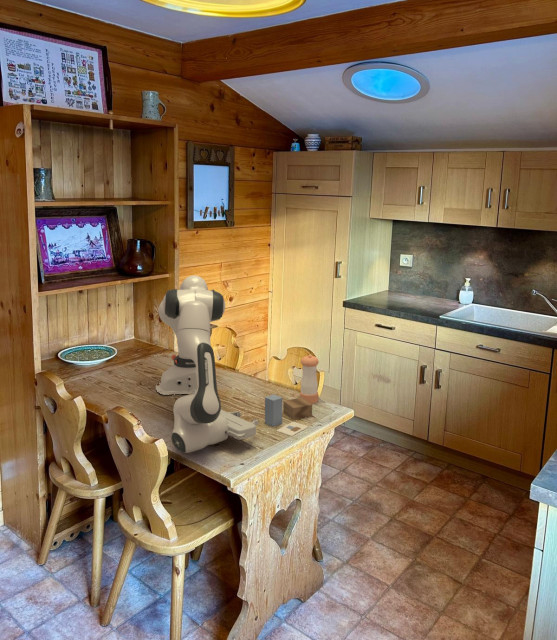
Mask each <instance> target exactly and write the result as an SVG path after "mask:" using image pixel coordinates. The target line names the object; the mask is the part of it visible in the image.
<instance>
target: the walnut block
mask: <svg viewBox="0 0 557 640" xmlns="http://www.w3.org/2000/svg"><path fill="white" fill-rule="evenodd" d="M282 414H284V415H286V416H287V417H288V418H289V419H291V420H292V421H296V420H302V419H306V418H305V417H307V418H310V417H309V416H313V404H311V403H309V402H308V401H306V400H305V399H303V398H300V397H297V398H290V399H286V400H282ZM301 418H302V419H301Z"/></svg>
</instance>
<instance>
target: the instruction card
mask: <svg viewBox="0 0 557 640" xmlns="http://www.w3.org/2000/svg"><path fill="white" fill-rule="evenodd" d="M306 428H307V429H308V428H310V426H309V425H305V424H302V423H300V422H298V421H297V422H296V421H295V420H292V422H290V423H287V424H285V425H284V426H282V427H280V428H278V429H276V432H278V433H280V434H284V435H286V436H290V437H294V436H296V435H297V434H299V433H301V432H303V431H305V430H306ZM304 429H305V430H304ZM302 430H303V431H302ZM295 434H296V435H295Z"/></svg>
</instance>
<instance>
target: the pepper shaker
mask: <svg viewBox="0 0 557 640" xmlns="http://www.w3.org/2000/svg"><path fill="white" fill-rule="evenodd" d="M300 363H301V365H302V374H301V375H302V376H301V381H300V391H299V398H303V399H305V400H306V401H308V402H309V403H311V404H312V405H313V403H314V404H316V402H317V401H318V402H319V392H318V385H319V384H318V378H317V366H318V365H319V359H318V358H317V357H316V356H314V355H312V354H308V355H305V356H303V357H302V358H301V360H300ZM318 402H317V403H318Z"/></svg>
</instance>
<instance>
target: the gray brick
mask: <svg viewBox="0 0 557 640" xmlns="http://www.w3.org/2000/svg"><path fill="white" fill-rule="evenodd" d="M264 423H265V424H266V425H268V426H271V427H272V428H273V427H278V426H279V425H282V424H283V397H282V396H280V395H277V394H274V393H273V394H271V395H267V396H265V397H264Z"/></svg>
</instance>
